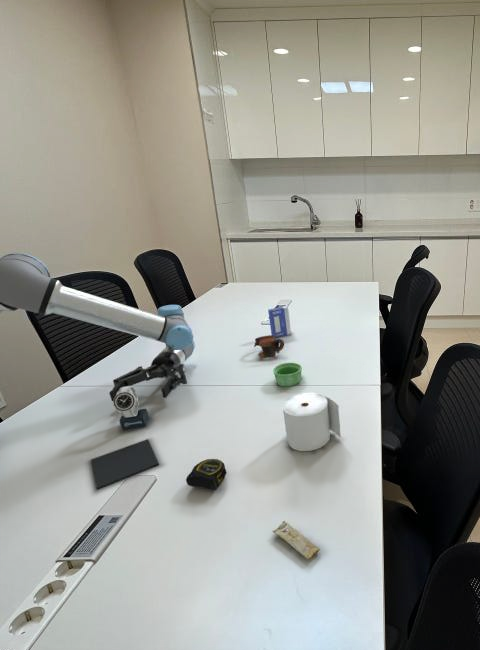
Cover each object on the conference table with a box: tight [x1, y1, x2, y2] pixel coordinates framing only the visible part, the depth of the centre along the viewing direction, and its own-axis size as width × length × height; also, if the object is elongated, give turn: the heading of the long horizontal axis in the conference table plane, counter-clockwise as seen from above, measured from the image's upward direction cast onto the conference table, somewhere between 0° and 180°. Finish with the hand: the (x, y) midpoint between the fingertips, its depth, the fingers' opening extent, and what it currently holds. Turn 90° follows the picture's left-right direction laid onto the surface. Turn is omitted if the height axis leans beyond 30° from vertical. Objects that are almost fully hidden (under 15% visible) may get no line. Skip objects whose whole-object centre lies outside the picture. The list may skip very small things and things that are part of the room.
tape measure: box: [185, 458, 228, 491], centre depth 82 cm, size 7×7×4 cm
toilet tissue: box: [282, 392, 342, 452], centre depth 95 cm, size 11×12×10 cm
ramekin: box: [272, 362, 303, 387], centre depth 124 cm, size 9×9×4 cm
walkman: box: [267, 305, 292, 339], centre depth 160 cm, size 8×3×12 cm, turn 126°
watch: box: [112, 385, 150, 432], centre depth 102 cm, size 6×8×11 cm
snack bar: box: [272, 520, 321, 559], centre depth 68 cm, size 10×2×3 cm
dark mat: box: [90, 438, 160, 490], centre depth 89 cm, size 12×12×1 cm
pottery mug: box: [253, 334, 285, 360], centre depth 144 cm, size 12×10×8 cm
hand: (137, 395), depth 105 cm, fingers open, 13 cm apart
